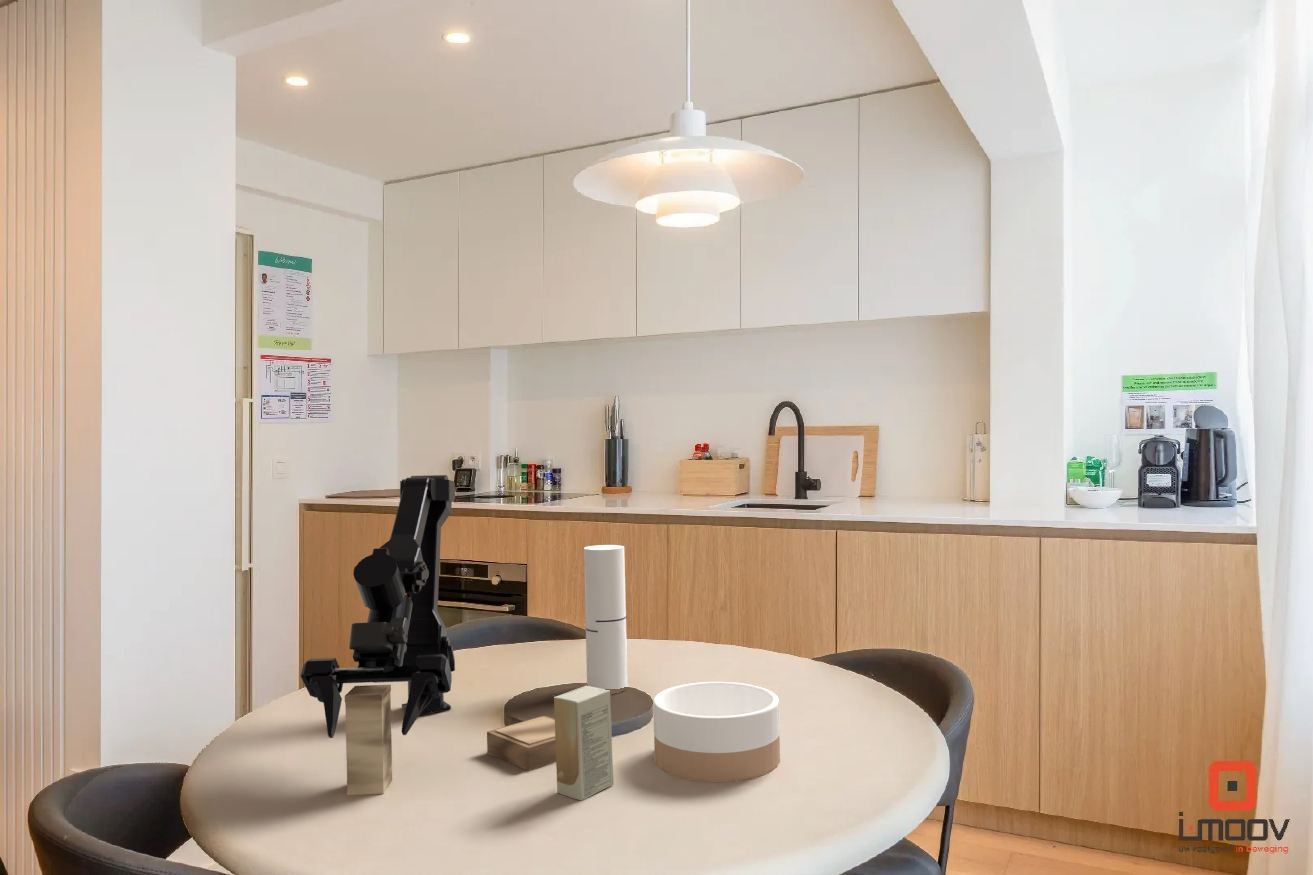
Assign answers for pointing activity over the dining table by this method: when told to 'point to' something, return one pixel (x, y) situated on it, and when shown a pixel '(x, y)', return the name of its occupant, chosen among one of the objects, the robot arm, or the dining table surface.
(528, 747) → the plinth
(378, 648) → the robot arm
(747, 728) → the bowl
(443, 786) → the dining table surface
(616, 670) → the cylindrical container
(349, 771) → the oak block
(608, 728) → the skincare box
